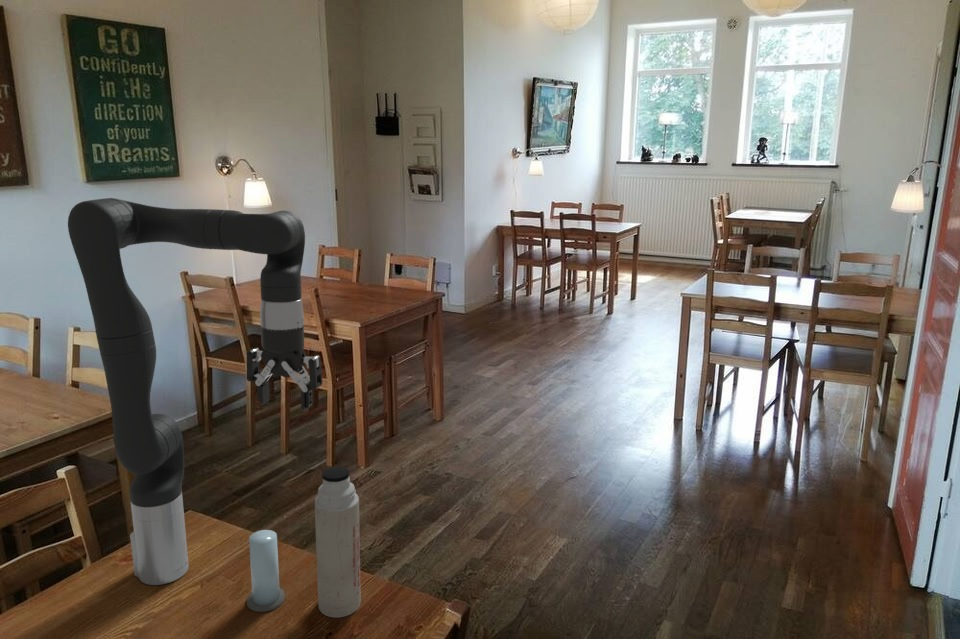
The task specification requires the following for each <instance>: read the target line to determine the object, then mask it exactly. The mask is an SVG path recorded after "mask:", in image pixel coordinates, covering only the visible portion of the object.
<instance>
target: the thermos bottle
mask: <svg viewBox="0 0 960 639" xmlns="http://www.w3.org/2000/svg"><path fill="white" fill-rule="evenodd" d="M321 477H322V484H321V485H320V486H319V487H318V489H317V493H316V494H317V496H316V498H315V500H314V517H315V518H314V521H315V546H316V564H317V565H316V566H317V602H318V603H317V604H318V605H317V606H318V609H319V612H321V613H322V615H324V616H326V617H329V618H334V619H335V618H336V619H337V618H342V617H343V618H344V617H347V616H350V615H352V614H353V613H355V612H356V611H357V610H358V609H359V608H360V606H361V601H362V599H361V598H362V597H361V592H362V591H361V551H360V550H361V546H360V542H361V541H360V498H359V495H358V494H357V493H356V492H357V491H356V488H355V485H354V483H352V482H351V479H350V478H351V477H350V470H349V469H348V467H345V466H342V465H341V466H339V465H338V466H336V465H335V466H330V467H327V468H325V469H323V471H322V473H321Z"/></svg>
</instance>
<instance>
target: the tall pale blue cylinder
mask: <svg viewBox="0 0 960 639" xmlns="http://www.w3.org/2000/svg"><path fill="white" fill-rule="evenodd" d="M248 543H249V559H250V560H249V561H250V563H249V564H250V576H251V577H250V579H251V593H252V597H253V602H254V603H255V604H257V605H269V604H272V603H274V602H276V601H277V600H278V599H279V596H280V590H279V588H280V574H279V572H280V571H279V555H278V554H279V552H278V533H277V532H275V531H274V530H270V529H262V530H257V531H255V532H254V533H252V534H250V535H249V537H248Z"/></svg>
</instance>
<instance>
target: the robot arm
mask: <svg viewBox="0 0 960 639" xmlns="http://www.w3.org/2000/svg"><path fill="white" fill-rule="evenodd" d="M67 230H68V231H67V232H68V236H69V239H70V241H71V245H72V249H73V252H74V254H75V257H76V260H77V263H78V266H79V270H80V272H81V275H82V278H83V282H84V284H85V288H86V293H87V296H88V297H87V298H88V302H89V306H90V310H91V314H92V318H93V323H94V328H95V334H96V335H95V336H96V340H97V345H98V350H99V355H100V358H101V363H102V366H103V370H104V375H105V381H106V386H107V390H108V396H109V402H110V409H111V417H112V427H113V428H112V429H113V440H114V441H113V442H114V447H115V448H114V449H115V453H116V456H117V459H118V460H119V461H118V462H119V463H120V464H121V465H122V467H123V468H124V469H125V470H126V471H128V472H130V473H131V474H133V475H135V476H134V478H133V480H132V482H131V484H130V486H129V499H130V508H131V516H132V518H131V519H132V525H133V527H132V528H133V531H132V532H131V533H130V535H129V538H130V547H131V556H132V563H133V573H134V577H136V578H138V579H139V581H141V583H143V584H145V585H149V586H159V585H160V586H161V585H165V584H169V583H172V582H174V581H177V580H178V579H180V578H182V577H183V576H184V575H185V574H186V573H187V572H188V570H189V566H190V565H189V557H188V556H189V555H188V547H187V546H188V545H187V535H186V522H185V513H184V512H185V511H184V500H183V489H182V485H183V484H182V483H183V481H184V477H185V453H184V452H185V451H184V450H185V448H184V438H183V433H182V430H181V428H180V427H179V424H178V423H177V422H176V420H175V419H173V418H172V417H170V416H169V415H167V414H163V413H152V406H151V391H152V384H153V380H154V375H155V369H156V364H157V347H156V342H155V335H154V330H153V326H152V322H151V318H150V316H149V313H148V311H147V310H146V308H145V307H144V306H143V304H142V302H141V301H140V299H139V298H138V297H137V296H136V294H135V293H134V291H133V290H132V288H131V287H130V285H129V283H128V281H127V279H126V276H125V272H124V268H123V267H124V266H123V263H122V257H121V249H124V248H127V247H128V246H133V245H139V244H147V243H171V244H177V245H181V246H185V247H186V246H187V247H191V248H196V249H204V250H223V251H242V252H245V253H246V252H247V253H252V254H259V255H266V256H267V257H266V264H265V265H264V266H263V268H262V270H261V272H260V277H259V278H260V280H259V283H260V310H259V312H260V313H259V314H260V317H259V318H260V339H261V340H260V341H261V347H262V350H260V348H259V347H254V348H252V349H250V350H248V351H247V352H246V381H247V382H253V383H255V385H256V389H257V390H256V392H257V393H256V394H257V395H256V396H257V397H256V398H257V400H258V401H259V404H261V405H266V404H267V403H269V401H270V383H269V382H268V381H269V379H270V378H271V377H272V376H273V377H283V378H285V379H290V378H291V379H292V381H293V383H295V384H297V385H298V387H299V388H300V390H301V391H300V406H301V407H300V409H301V411H307V410H309V409H310V408H311V407H312V405H313V401H314V400H313V391H316V390H317V389H318V388H319V387H322V386H323V375H322V374H323V373H322V371H323V370H322V361H321V356H320V355H319V354H317V355H314V356H307V355H306V354H305V352H304V348H305V326H304V324H305V318H304V307H303V298H302V278H301V277H302V275H301V272H302V265H303V263H304V262H303V261H304V253H305V247H306V245H305V244H306V234H305V227H304V224H303V221H302V220H301V218H300V217H299V216H298V215H297V214H296V213H294V212H292V211H290V210H278V211H274V212H271V213H244V212H241V211H239V210H235V209H234V210H231V209H216V208H215V209H214V208H213V209H211V208H210V209H209V208H207V209H205V208H167V207H159V206H151V205H147V204H143V203H137V202H134V201H129V200H124V199H119V198H113V197H109V198H108V197H107V198H100V199H99V198H98V199H92V200H84V201H81V202H79V203H76V204H75V205H74V206H73V207H72V208H71V210H70V211H69V214H68V218H67ZM261 360H262V361H263V363H264V364H265V367H264V368H263V369H262V371H261V372H260V361H261ZM304 365H306V368H307V369H308V371H307V370H306V368H305V366H304Z"/></svg>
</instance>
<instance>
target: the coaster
mask: <svg viewBox="0 0 960 639" xmlns="http://www.w3.org/2000/svg"><path fill="white" fill-rule="evenodd" d="M279 590H280V596H279V599H278V600H277V601H276V602H274V603H272V604H269V605H257V604H255V603H254V602H253V597H252V592H251V593H249V595H248V596H247V598H246V607H247V608H248V609H249V610H251V611H253V612H256V613H268V612H271V611H273V610H276V609H278V608H279V607H280V606H282V605H283V603H284V602H285V600H286V599H285V598H286V595H285V594H286V593H285V591H284V590H283V588H281V587H279Z"/></svg>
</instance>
